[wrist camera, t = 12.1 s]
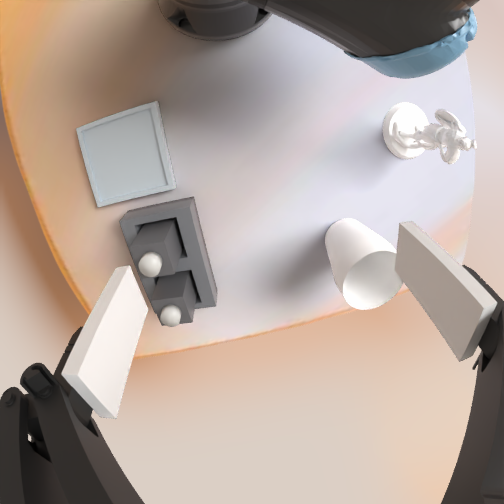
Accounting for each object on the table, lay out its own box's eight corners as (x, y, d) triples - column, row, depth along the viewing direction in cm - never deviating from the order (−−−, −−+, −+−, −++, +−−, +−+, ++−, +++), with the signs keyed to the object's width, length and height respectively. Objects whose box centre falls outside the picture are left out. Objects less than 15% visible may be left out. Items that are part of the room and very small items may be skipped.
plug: (162, 268, 43) (148, 308, 34) (190, 263, 43) (181, 304, 34) (171, 291, 45) (160, 333, 37) (197, 287, 45) (191, 330, 37)
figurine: (407, 90, 32) (477, 97, 19) (438, 134, 35) (505, 157, 22) (371, 128, 35) (435, 148, 22) (405, 170, 38) (468, 207, 25)
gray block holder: (128, 210, 39) (100, 244, 30) (193, 196, 39) (180, 228, 30) (160, 298, 47) (146, 343, 38) (217, 290, 47) (214, 336, 37)
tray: (81, 127, 32) (76, 128, 31) (158, 101, 32) (155, 101, 31) (101, 203, 38) (97, 207, 37) (176, 185, 38) (174, 189, 36)
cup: (335, 272, 46) (360, 321, 36) (305, 234, 43) (327, 281, 32) (379, 240, 44) (415, 282, 33) (353, 198, 40) (391, 234, 30)
